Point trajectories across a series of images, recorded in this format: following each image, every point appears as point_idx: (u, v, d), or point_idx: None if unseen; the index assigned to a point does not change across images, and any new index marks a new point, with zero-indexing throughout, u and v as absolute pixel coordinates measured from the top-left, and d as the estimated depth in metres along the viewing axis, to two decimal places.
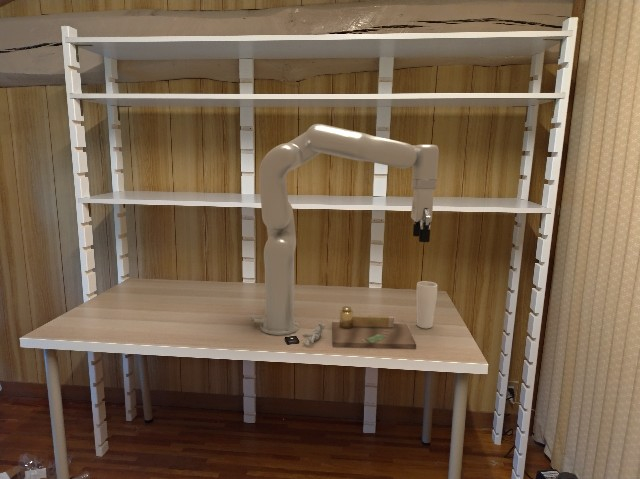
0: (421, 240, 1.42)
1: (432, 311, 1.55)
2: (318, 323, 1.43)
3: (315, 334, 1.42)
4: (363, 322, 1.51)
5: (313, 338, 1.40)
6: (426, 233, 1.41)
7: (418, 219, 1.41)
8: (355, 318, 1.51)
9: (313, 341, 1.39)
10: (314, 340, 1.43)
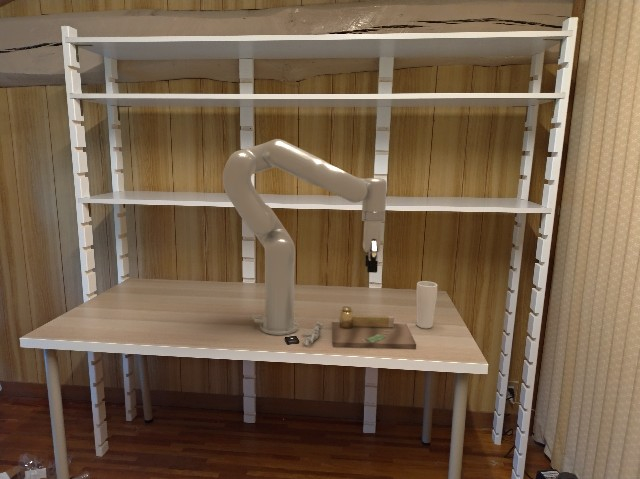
0: (369, 270, 1.50)
1: (432, 311, 1.55)
2: (317, 323, 1.43)
3: (314, 334, 1.42)
4: (363, 322, 1.51)
5: (312, 338, 1.40)
6: (374, 264, 1.49)
7: (366, 249, 1.48)
8: (355, 318, 1.51)
9: (312, 341, 1.39)
10: (313, 340, 1.44)
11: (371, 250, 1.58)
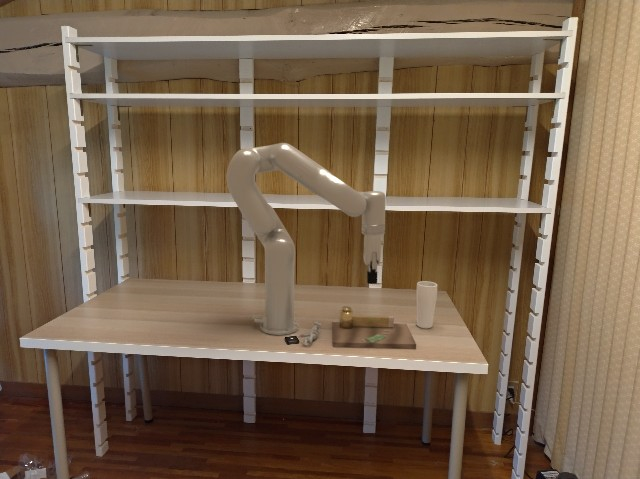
0: (369, 282, 1.55)
1: (432, 311, 1.55)
2: (315, 323, 1.43)
3: (313, 334, 1.42)
4: (363, 322, 1.51)
5: (311, 338, 1.40)
6: (373, 276, 1.53)
7: (367, 262, 1.49)
8: (355, 318, 1.51)
9: None
10: (311, 340, 1.44)
11: None
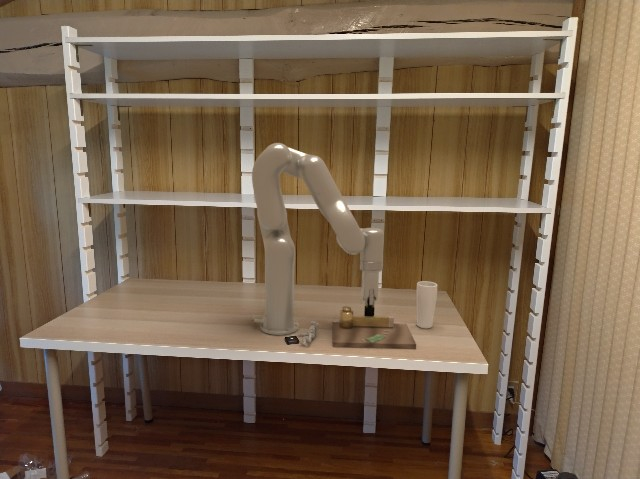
0: None
1: (432, 311, 1.55)
2: (314, 322, 1.44)
3: (311, 333, 1.42)
4: (363, 322, 1.51)
5: (310, 337, 1.40)
6: (370, 311, 1.56)
7: (365, 299, 1.51)
8: (355, 318, 1.51)
9: None
10: None
11: None
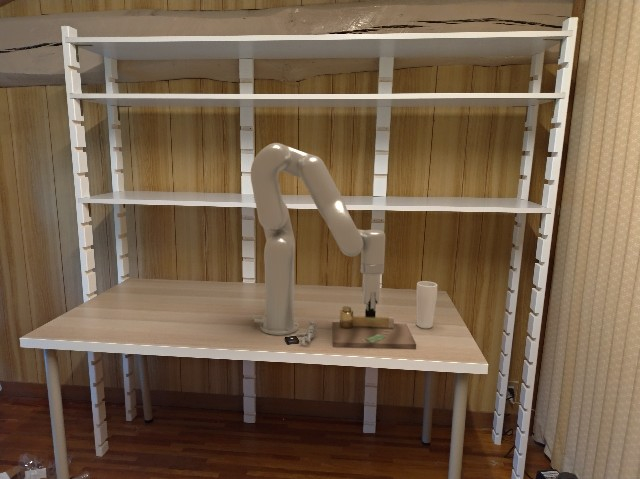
0: None
1: (432, 311, 1.55)
2: (312, 322, 1.44)
3: (310, 333, 1.42)
4: (363, 322, 1.51)
5: (309, 337, 1.40)
6: (372, 314, 1.52)
7: (366, 302, 1.48)
8: (355, 318, 1.51)
9: None
10: None
11: None
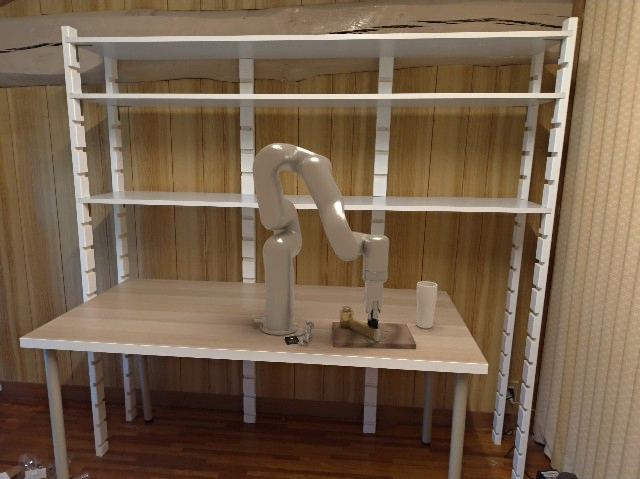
0: None
1: (432, 311, 1.55)
2: (310, 322, 1.44)
3: (308, 333, 1.42)
4: (356, 326, 1.47)
5: (308, 337, 1.40)
6: (374, 324, 1.44)
7: (368, 311, 1.39)
8: (350, 320, 1.49)
9: (308, 340, 1.40)
10: None
11: None
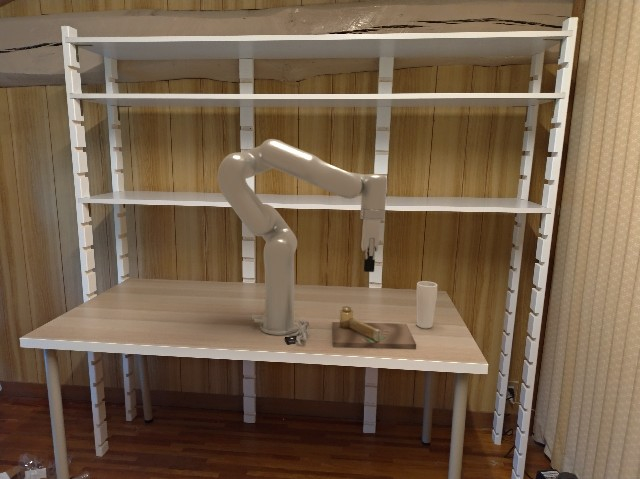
0: (366, 270, 1.47)
1: (432, 311, 1.55)
2: (306, 321, 1.44)
3: (305, 332, 1.43)
4: (356, 326, 1.47)
5: (305, 336, 1.41)
6: (370, 263, 1.46)
7: (364, 249, 1.42)
8: (350, 320, 1.49)
9: (306, 339, 1.40)
10: None
11: None
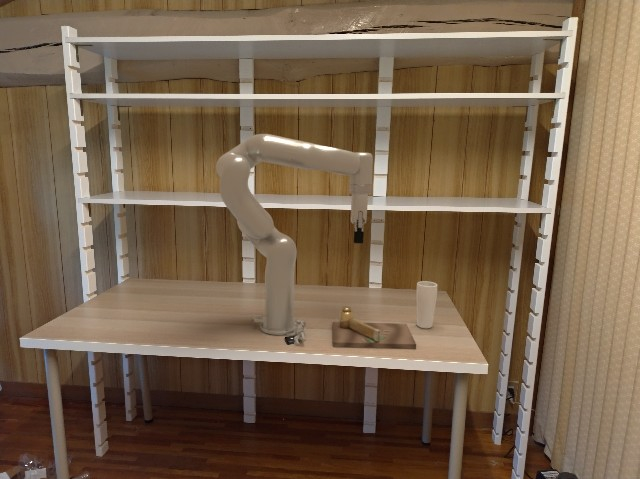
0: (356, 241, 1.59)
1: (432, 311, 1.55)
2: (303, 321, 1.44)
3: (303, 332, 1.43)
4: (356, 326, 1.47)
5: None
6: (360, 235, 1.58)
7: (353, 221, 1.54)
8: (350, 320, 1.49)
9: None
10: (300, 338, 1.44)
11: None
